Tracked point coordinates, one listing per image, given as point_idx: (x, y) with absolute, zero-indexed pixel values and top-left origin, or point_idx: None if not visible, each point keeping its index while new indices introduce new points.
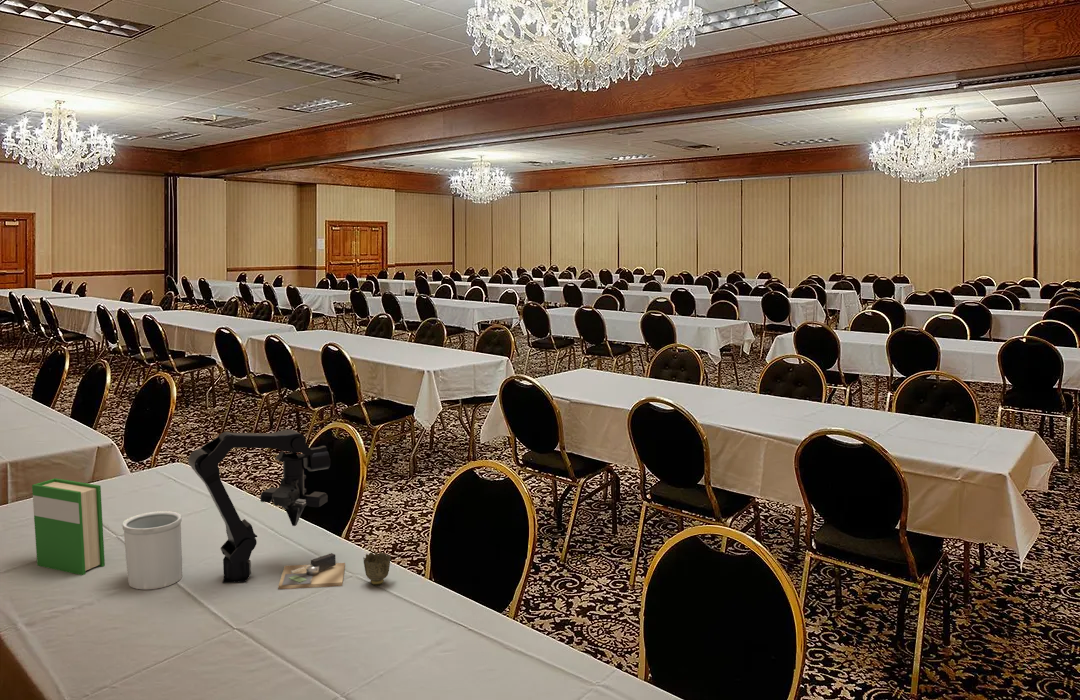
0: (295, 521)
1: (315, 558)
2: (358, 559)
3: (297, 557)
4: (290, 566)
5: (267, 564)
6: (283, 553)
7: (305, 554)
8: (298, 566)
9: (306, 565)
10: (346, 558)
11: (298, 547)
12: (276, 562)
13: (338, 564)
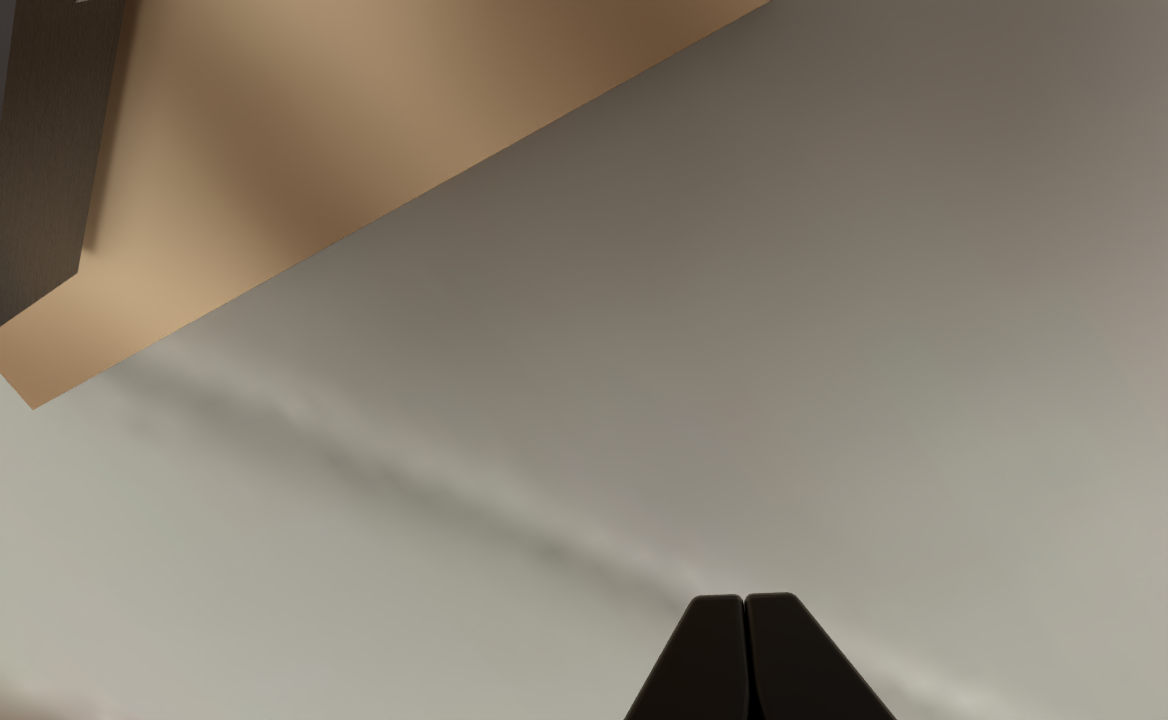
0: (636, 707)
1: (9, 10)
2: (79, 594)
3: (826, 431)
4: (658, 5)
5: (1159, 55)
6: (1099, 485)
7: (776, 541)
8: (536, 61)
9: (443, 143)
10: (221, 580)
11: (989, 688)
12: (1045, 179)
13: (62, 335)
